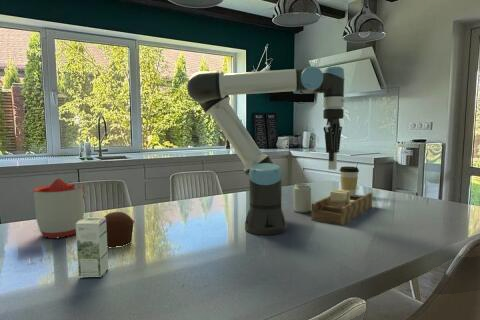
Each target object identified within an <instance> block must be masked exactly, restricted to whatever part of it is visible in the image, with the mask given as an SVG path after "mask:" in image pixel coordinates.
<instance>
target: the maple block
mask: <svg viewBox="0 0 480 320" xmlns="http://www.w3.org/2000/svg"><path fill="white" fill-rule="evenodd" d="M330 196H331V203H330V206H333V207H340V208H342V207H344V206H346V205H348V204H350V191H344V190H342V189H334V190H332V191H330Z"/></svg>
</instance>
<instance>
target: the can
mask: <svg viewBox="0 0 480 320" xmlns="http://www.w3.org/2000/svg"><path fill="white" fill-rule="evenodd" d="M294 185H295V186H294V187H293V210H294V211H295V212H296V213H301V214H304V213H305V214H306V213H307V214H308V213H309V212H310V211H312V200H311V199H312V188H311V185H310V184H309V183H304V182H303V183H301V182H300V183H295V184H294Z"/></svg>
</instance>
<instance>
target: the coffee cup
mask: <svg viewBox="0 0 480 320" xmlns="http://www.w3.org/2000/svg"><path fill="white" fill-rule="evenodd" d="M339 172H340V185H341V190H347V191H350V196H356V191H357V185H358V178H359V177H358V175H359V172H360V170H359V168H358V167H357V166H341V167H340V168H339Z"/></svg>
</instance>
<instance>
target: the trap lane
mask: <svg viewBox="0 0 480 320" xmlns="http://www.w3.org/2000/svg"><path fill="white" fill-rule="evenodd" d="M344 191H347V190H344ZM330 203H331V195H329V196H327V197H323V198H322V199H320V200H317V201H315V202H312V203H311V221H317V222H322V223H326V224H333V225H338V226H345V225H346V224H348V223H349V222H351V221H352V220H354V219H355V218H357V217H359V216H360V215H362V214H363V213H364V212H366V211H368V210H369V209H371V208H372V207H373V192H371V191H370V192H369V193H366V194H365V195H363V196H359V195H355V196H350V204H348V205H346V206H344V207H342V208H340V207H333V206H330Z"/></svg>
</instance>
